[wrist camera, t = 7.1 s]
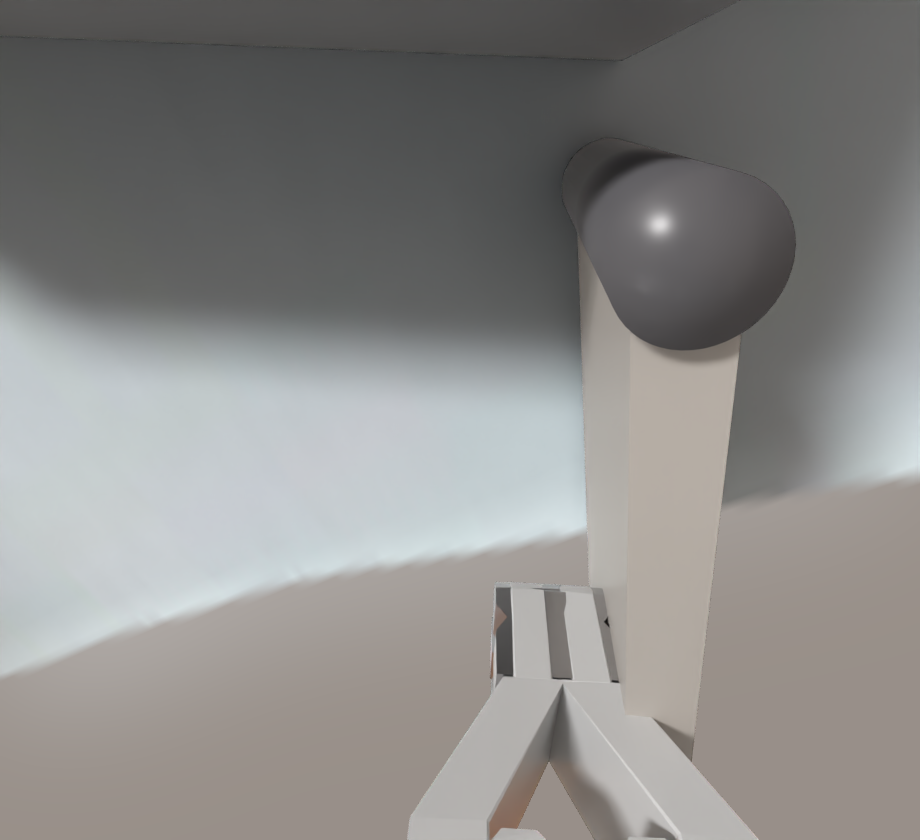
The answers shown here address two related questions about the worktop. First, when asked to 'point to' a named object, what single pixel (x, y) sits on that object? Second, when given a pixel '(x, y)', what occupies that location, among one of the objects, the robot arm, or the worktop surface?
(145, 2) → the camera body
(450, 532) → the worktop surface
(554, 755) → the robot arm
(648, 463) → the side door
